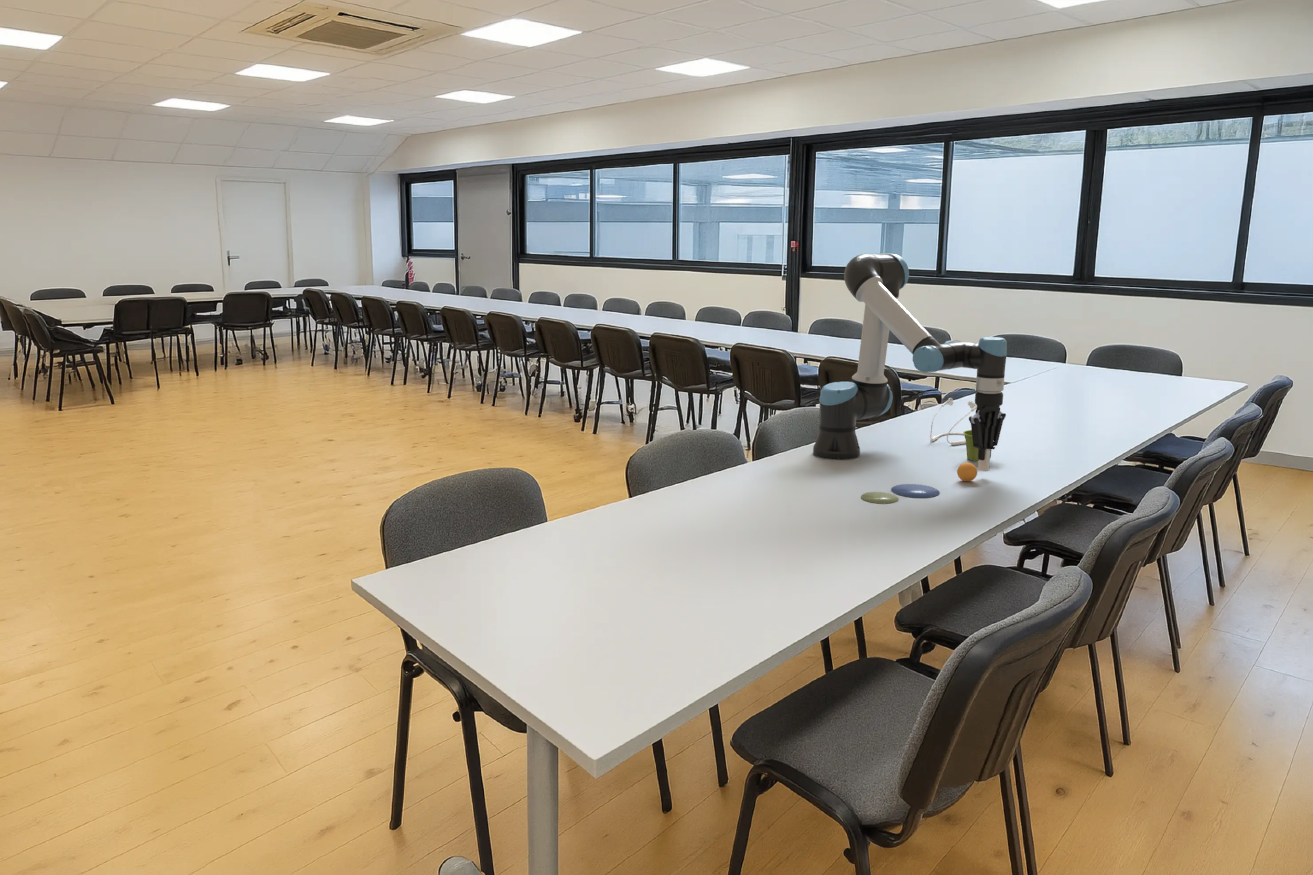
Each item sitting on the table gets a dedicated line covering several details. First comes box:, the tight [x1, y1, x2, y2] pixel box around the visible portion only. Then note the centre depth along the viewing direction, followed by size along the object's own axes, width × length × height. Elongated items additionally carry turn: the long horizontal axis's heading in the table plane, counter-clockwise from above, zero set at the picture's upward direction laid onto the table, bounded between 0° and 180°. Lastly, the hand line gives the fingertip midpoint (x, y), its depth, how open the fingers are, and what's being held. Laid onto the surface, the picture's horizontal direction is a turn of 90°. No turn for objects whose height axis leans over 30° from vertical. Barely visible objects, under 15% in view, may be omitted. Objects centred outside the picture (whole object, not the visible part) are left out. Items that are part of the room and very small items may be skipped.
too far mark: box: [860, 491, 900, 505], centre depth 234 cm, size 10×10×1 cm
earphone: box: [929, 397, 977, 446], centre depth 298 cm, size 14×17×18 cm
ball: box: [956, 462, 978, 482], centre depth 248 cm, size 6×6×6 cm
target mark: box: [890, 483, 940, 499], centre depth 240 cm, size 13×13×1 cm
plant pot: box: [962, 429, 979, 463], centre depth 271 cm, size 9×9×9 cm
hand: (983, 470), depth 251 cm, fingers closed
